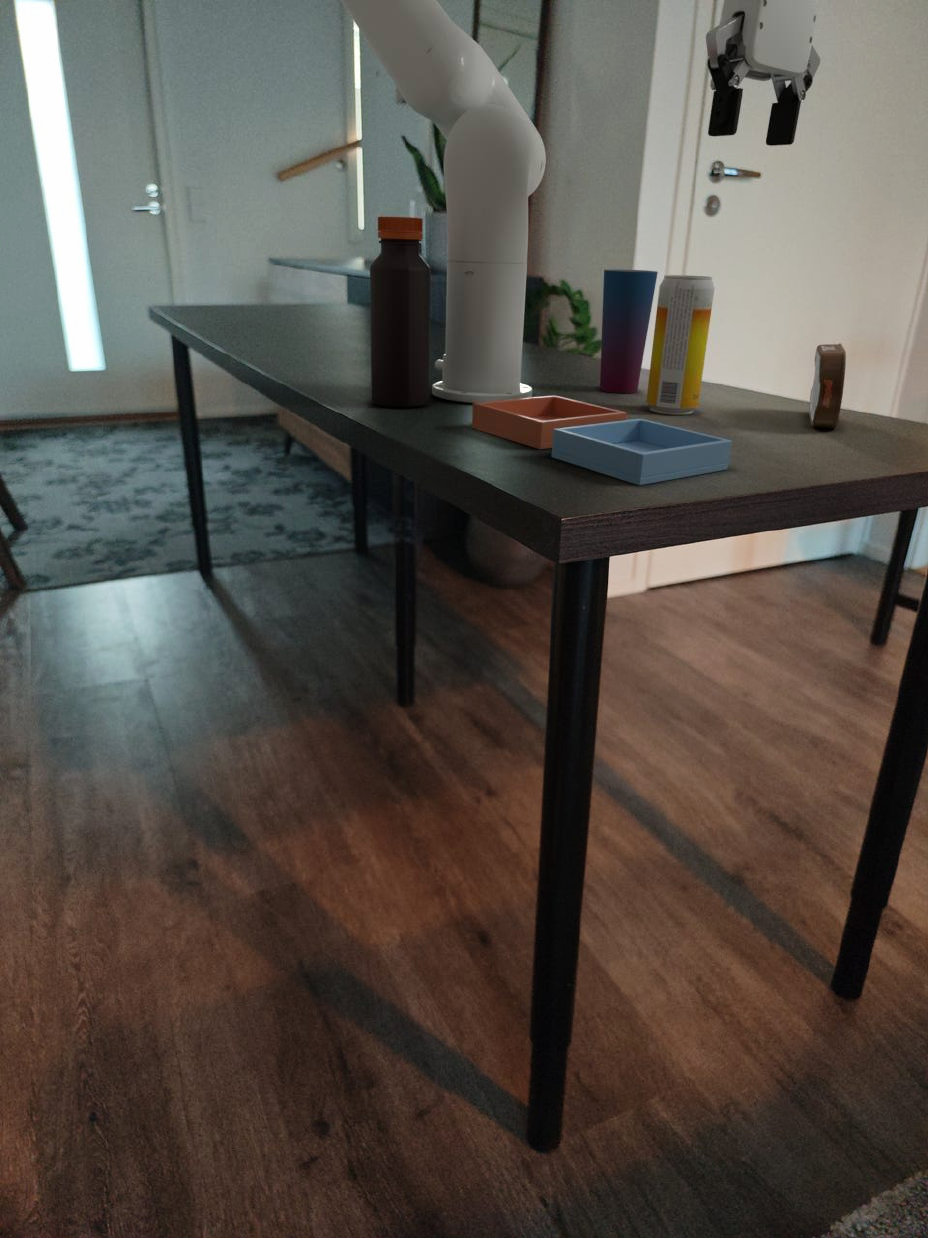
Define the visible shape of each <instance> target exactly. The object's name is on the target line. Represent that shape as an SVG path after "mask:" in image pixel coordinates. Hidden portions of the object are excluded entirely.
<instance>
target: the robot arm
mask: <svg viewBox="0 0 928 1238" xmlns="http://www.w3.org/2000/svg"><path fill="white" fill-rule="evenodd" d="M340 2H341V4H342V5H343V7H344V8H345V9H346V12H347V13H348V15H350V17H351V18H352V20H353V22H354V24H355V25H356V26H357V28H358V30H359V31H360V32H361V34H362V36H363V38H364V39H365V41H366V43H367V44H368V45H369V47H370V49H371V50H372V51H373V53H374V55H375V56H376V57H377V59H378V60H379V63H381V65H382V66H383V68H384V70H385V71H386V73H387V74H388V76H389V77H390V79H391V80H392V83H394V85H395V87H396V89H397V90H398V92H399V94H400V95H401V97H402V98H403V100H404V102H405V103H406V104H407V106H409V108H411V110H413V111H414V112H415V113H416V114H419V115H420V116H422V117H424V118H425V119H427V120H429V121H432V122H433V124H434V126H435V127H436V128H437V129H438V131H439V132H440V133H441V135H442V136H443V138H444V140H445V141H446V142H445V147H444V152H443V181H444V190H445V191H444V192H445V194H444V195H445V205H446V206H445V207H446V291H445V292H446V295H445V297H446V299H445V341H444V343H445V345H444V346H445V347H444V348H445V349H444V354H442V359H436V360H435V362H434V368H435V370H437V371H440V372H442V375H441V376H442V377H441V378H442V380H440V381H437V382H435V383H433V384H432V386H431V394H432V395H433V396H434V397H436V398H439V399H442V400H448V401H452V402H459V403H468V404H473V403H479V402H489V401H500V400H510V399H521V398H532V397H533V388H532V386H529V385H528V384H525V383H521V381H522V380H521V379H522V378H521V377H522V360H523V345H524V343H523V340H524V325H525V323H524V322H525V308H526V307H525V306H526V289H527V274H528V273H527V272H528V249H529V248H528V247H529V197H530V196H531V195H532V194H533V193H534V192H535V191H536V190H537V188H538V187H539V185H540V183H541V182H542V180H543V177H544V174H545V170H546V164H547V155H546V149H545V148H546V147H545V144H544V141H543V139H542V137H541V134H540V132H539V130H538V129H537V127H536V126H535V125H534V123H533V121H532V120H531V119H530V117H529V115H528V114H527V112H526V111H525V109H524V108H523V107H522V105H521V104H520V102H519V100H518V99H517V97H516V96H515V94H514V93H513V91H512V89H511V88H510V86H509V85H508V84H507V82H506V80H505V79H504V78H503V76H502V74H501V73H500V71H499V70H498V68H497V67H496V66H495V64H494V62H493V61H492V60H491V58H490V56H488V54H487V52H485V50H484V48H482V46H481V45H480V44H479V43H478V42H477V41H475V40H474V38H472V37H471V36H470V35H469V34H468V33H466V31H464V30H463V29H462V28H461V27H460V26H459V25H457V24H456V23H455V22H454V21H453V20H452V19H451V17H450V16H449V15H448V14H447V12H446V11H445V10H444V8H443V7H442V5H441V4H440V3H439V1H438V0H340ZM818 2H819V0H723V2H722V3H723V4H722V8H721V13H720V19H719V24H718V25H717V26H715V27H713V28H712V29H710V30H708V31H707V33H706V34H705V44H706V50H707V51H706V52H707V57H708V60H707V68H708V71H709V74H710V77H711V79H710V85H709V86H710V89H711V90H712V91H713V93H712V101H711V109H710V114H709V115H710V116H709V121H708V122H709V123H708V130H707V135H708V136H709V137H727V136H728V137H729V136H734V135H736V134H737V132H738V125H739V118H740V113H741V107H742V102H743V101H742V100H743V93H744V88H741V87H739V86H740V85H741V83H742V82H743V80H744V79H748V80H752V81H753V80H755V81H759V82H768V81H772V82H771V83H772V86H773V90H774V93H775V98H776V101H777V102H772V104H771V109H770V114H769V120H768V124H767V125H768V126H767V131H766V138H765V145H766V146H772V147H775V146H776V147H777V146H791V145H793V144H794V142H795V138H796V132H797V126H798V122H799V121H798V120H799V115H800V110H801V104H802V103H803V102H804V101H805V100H806V97H807V92H808V91H809V89H810V88H811V87H812V85H813V82H814V80H813V79H814V77H815V76H816V73H817V71H818V69H819V67H820V64H821V58H820V56H819V54H818V52H817V50H816V49H815V47H814V45H813V41H814V34H815V29H816V28H815V27H816V19H817V13H818V5H819V3H818ZM789 81H790V82H789ZM786 82H789V84H788V85H787V84H786Z"/></svg>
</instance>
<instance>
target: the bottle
mask: <svg viewBox="0 0 928 1238" xmlns="http://www.w3.org/2000/svg"><path fill="white" fill-rule="evenodd" d="M423 221H424V219H423V218H422V217H409V216H408V217H407V216H378V217H377V239H380V240H379V241H377V243H378V244H380V253H379V254H378V256H377V257H376V258H375V259H374V260H373V262H371V264H370V266H369V300H370V301H369V306H370V307H369V313H370V316H369V317H370V375H371V376H370V380H371V382H370V385H371V387H370V388H371V390H370V391H371V401H372V403H373V404H374V405H375V406H379V407H385V408H391V409H392V408H393V409H412V408H413V409H414V408H421V407H424V406H426V405H427V404H428V403H429V401H430V356H431V355H430V353H431V352H430V351H431V350H430V349H431V286H432V285H431V279H432V278H431V277H432V275H431V274H432V273H431V272H432V271H431V270H432V269H431V267H430V265H429V264H428V263H427V261H426V260H425V258H423V256H422V255H421V253H420V251H421V249H420V247H421V246H420V245H423V242H421V241H420V240H423V239H424V238H423V237H424V236H423V233H424V232H423V231H424V230H423V227H424V222H423Z"/></svg>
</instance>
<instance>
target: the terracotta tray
mask: <svg viewBox="0 0 928 1238" xmlns="http://www.w3.org/2000/svg"><path fill="white" fill-rule="evenodd" d="M627 414H628V413H627V412H626V411H621V410H618V409H613V408H610V407H605V406H601V405H597V404H593V403H588V402H584V401H580V400H576V399H571V398H567V397H564V396H559V395H555V394H554V395H544V396H543V395H542V396H532V397H531V398H521V399H510V400H500V401H489V402H479V403H472V414H471V416H472V417H471V428H472V429H475V430H477V431H480V432H483V433H487V434H490V435H493V436H495V437H499V438H503V439H505V440H509V441H512V442H514V443H518V444H522V445H524V446H528V447H530V448H534V449H536V450H541V451H542V450H547V449H552V442H553V430H554V429H558V428H566V427H574V426H582V425H591V424H599V423H607V422H615V421H623V420H627V416H628V415H627Z"/></svg>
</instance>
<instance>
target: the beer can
mask: <svg viewBox="0 0 928 1238" xmlns="http://www.w3.org/2000/svg"><path fill="white" fill-rule="evenodd" d="M714 294H715V286H714V282H713V277H712V276H707V275H706V276H705V275H704V276H703V275H689V274H688V275H686V274H685V275H684V274H665V275H664V276H663V279H662V281H661V283H660V284H659V287H658V295H657V296H658V297H657V306H656V315H655V323H654V331H653V340H652V349H651V358H650V366H649V375H648V383H647V393H646V401H645V403H646V405H648V407H649V410H650V411H651V412H654V413H659V414H663V415H673V416H675V415H678V416H679V415H681V416H682V415H690V414H692V413H693V412H694V410H695V409H697V407H698V406H699V402H700V394H701V388H702V381H703V374H704V367H705V359H706V354H707V353H706V351H707V343H708V339H709V337H708V336H709V331H710V324H711V317H712V309H713V302H714Z"/></svg>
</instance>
